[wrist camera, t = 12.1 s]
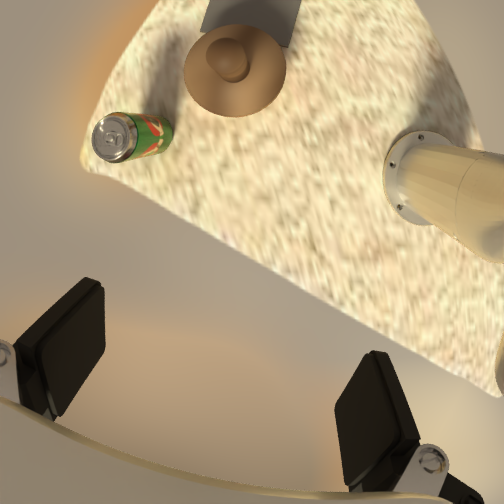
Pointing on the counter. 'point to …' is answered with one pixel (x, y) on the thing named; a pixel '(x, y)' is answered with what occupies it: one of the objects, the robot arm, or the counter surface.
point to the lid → (235, 70)
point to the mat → (254, 16)
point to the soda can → (130, 136)
